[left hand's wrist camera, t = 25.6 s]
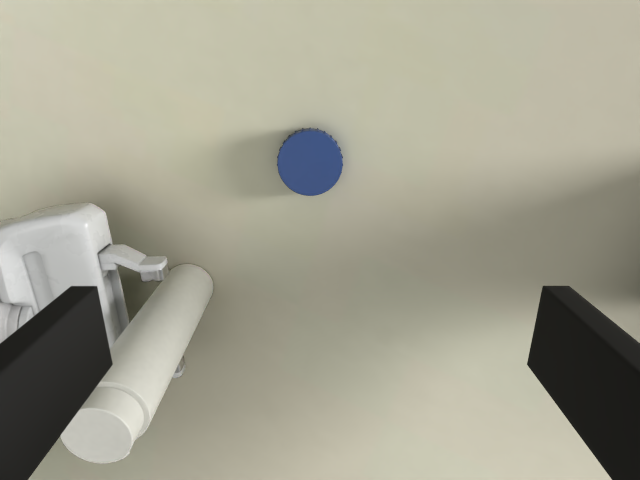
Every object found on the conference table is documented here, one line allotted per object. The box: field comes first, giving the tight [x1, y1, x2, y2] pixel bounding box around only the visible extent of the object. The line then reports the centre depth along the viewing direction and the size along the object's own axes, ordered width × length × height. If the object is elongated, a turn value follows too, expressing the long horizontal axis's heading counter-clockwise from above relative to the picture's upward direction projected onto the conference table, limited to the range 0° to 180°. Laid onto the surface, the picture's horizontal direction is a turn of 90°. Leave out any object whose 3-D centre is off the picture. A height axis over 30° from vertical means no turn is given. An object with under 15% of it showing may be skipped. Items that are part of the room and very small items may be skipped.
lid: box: [277, 128, 343, 196], centre depth 37 cm, size 6×6×2 cm
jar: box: [60, 264, 214, 463], centre depth 33 cm, size 5×5×19 cm
